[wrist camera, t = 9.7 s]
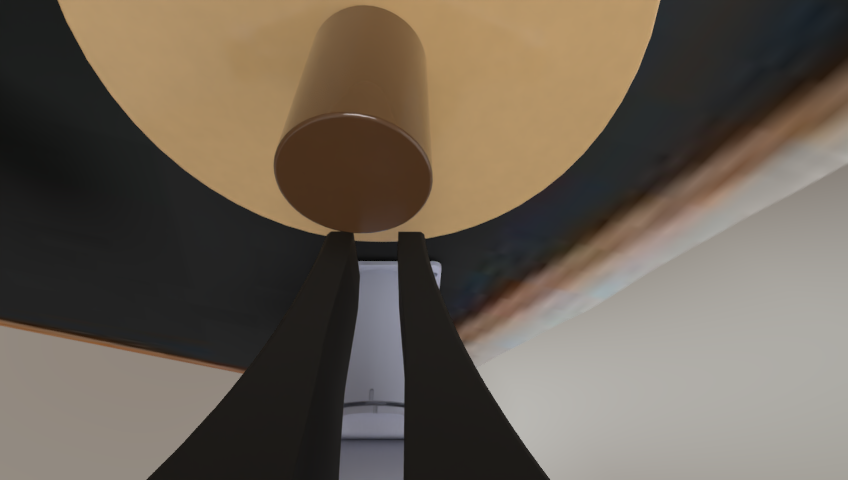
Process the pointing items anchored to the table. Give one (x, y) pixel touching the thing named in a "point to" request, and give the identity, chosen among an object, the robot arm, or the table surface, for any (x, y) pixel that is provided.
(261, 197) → the lid
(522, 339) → the table surface
